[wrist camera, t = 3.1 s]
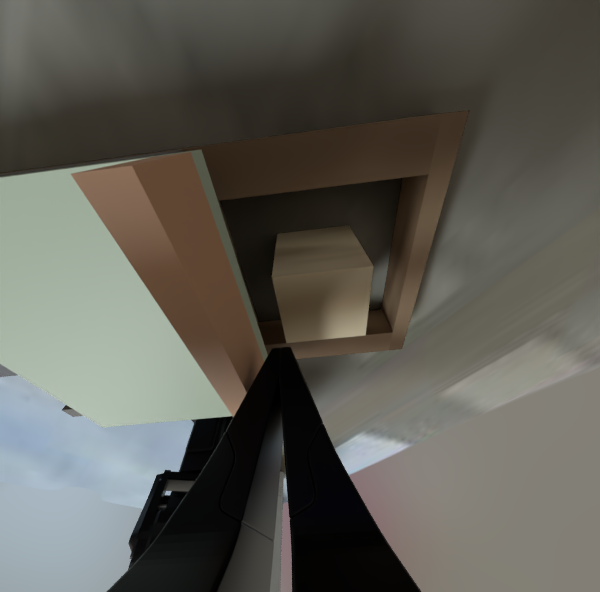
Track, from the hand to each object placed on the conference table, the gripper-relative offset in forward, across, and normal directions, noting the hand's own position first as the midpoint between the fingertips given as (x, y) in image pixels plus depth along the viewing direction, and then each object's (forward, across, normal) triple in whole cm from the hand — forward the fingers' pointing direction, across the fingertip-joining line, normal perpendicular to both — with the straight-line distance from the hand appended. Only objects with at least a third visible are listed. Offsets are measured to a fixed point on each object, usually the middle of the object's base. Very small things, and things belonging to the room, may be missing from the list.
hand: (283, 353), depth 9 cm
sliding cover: (+2, +7, 0) cm, 7 cm away
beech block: (+7, -2, 0) cm, 8 cm away
